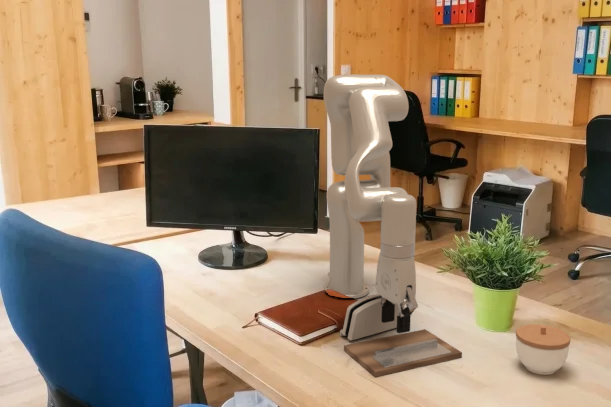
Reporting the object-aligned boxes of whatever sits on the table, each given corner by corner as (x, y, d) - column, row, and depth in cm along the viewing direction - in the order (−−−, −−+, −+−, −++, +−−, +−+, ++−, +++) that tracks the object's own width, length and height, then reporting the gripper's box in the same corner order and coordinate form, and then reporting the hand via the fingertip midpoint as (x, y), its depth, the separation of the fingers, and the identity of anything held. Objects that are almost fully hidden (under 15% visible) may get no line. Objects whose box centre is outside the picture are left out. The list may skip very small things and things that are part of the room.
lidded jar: (578, 377, 128) (582, 334, 127) (531, 382, 126) (534, 339, 124) (548, 354, 139) (551, 315, 137) (504, 359, 137) (506, 319, 135)
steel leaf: (371, 357, 135) (371, 351, 135) (436, 343, 142) (436, 338, 141) (384, 368, 130) (384, 362, 130) (451, 353, 137) (451, 347, 136)
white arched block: (392, 322, 157) (396, 286, 154) (404, 330, 154) (408, 293, 151) (338, 337, 148) (341, 299, 146) (350, 346, 145) (353, 307, 142)
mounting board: (343, 350, 141) (344, 345, 141) (424, 333, 150) (425, 329, 150) (375, 377, 129) (375, 371, 129) (461, 357, 138) (462, 352, 137)
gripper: (363, 242, 143) (362, 316, 147) (404, 262, 128) (402, 344, 132) (391, 238, 146) (389, 311, 150) (434, 258, 131) (431, 338, 135)
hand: (395, 325), depth 141 cm, fingers open, 5 cm apart
